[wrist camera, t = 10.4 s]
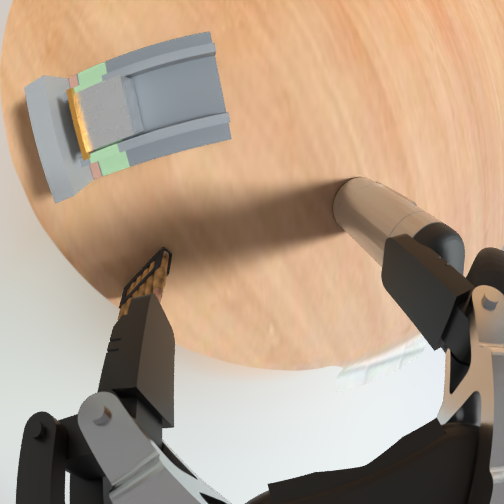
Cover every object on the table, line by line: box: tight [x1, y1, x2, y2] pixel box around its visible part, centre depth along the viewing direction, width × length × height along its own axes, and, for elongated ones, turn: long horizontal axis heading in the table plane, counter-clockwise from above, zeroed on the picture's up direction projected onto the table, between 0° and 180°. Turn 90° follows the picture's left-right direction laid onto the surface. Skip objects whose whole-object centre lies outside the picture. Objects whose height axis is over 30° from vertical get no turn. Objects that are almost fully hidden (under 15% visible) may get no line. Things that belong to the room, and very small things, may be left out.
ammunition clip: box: [118, 247, 172, 320], centre depth 36 cm, size 11×2×12 cm, turn 131°
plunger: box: [66, 75, 144, 160], centre depth 25 cm, size 6×8×7 cm
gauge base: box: [24, 32, 231, 203], centre depth 26 cm, size 22×15×8 cm
